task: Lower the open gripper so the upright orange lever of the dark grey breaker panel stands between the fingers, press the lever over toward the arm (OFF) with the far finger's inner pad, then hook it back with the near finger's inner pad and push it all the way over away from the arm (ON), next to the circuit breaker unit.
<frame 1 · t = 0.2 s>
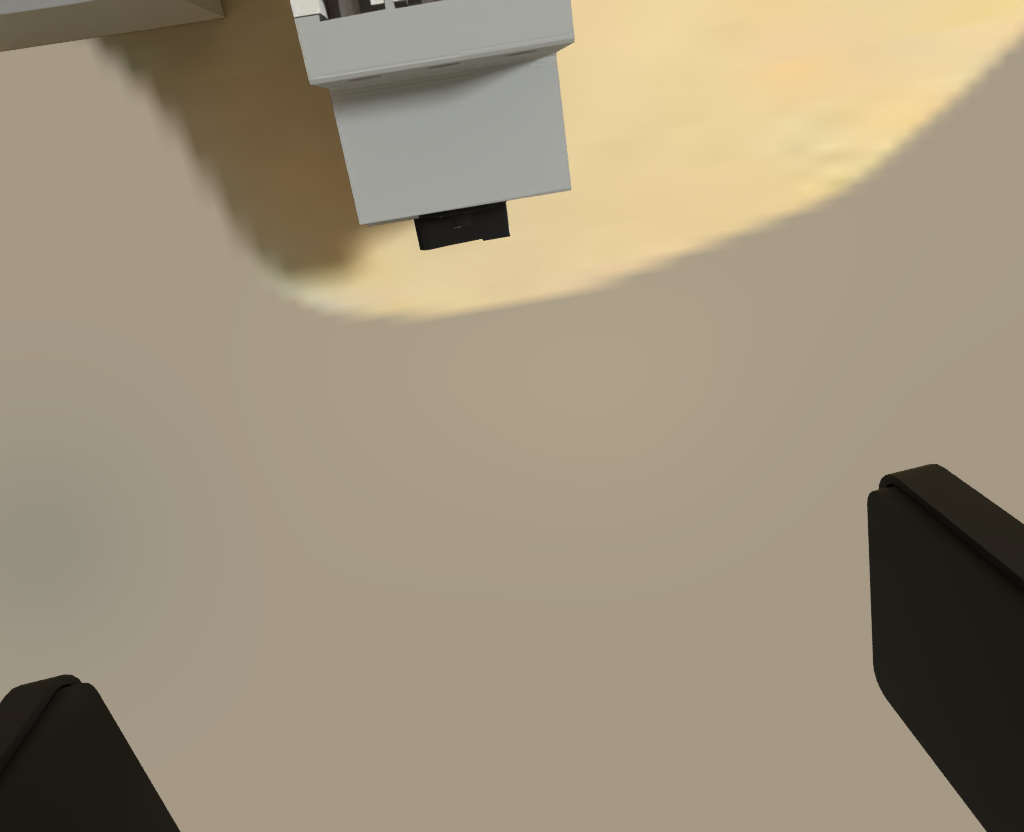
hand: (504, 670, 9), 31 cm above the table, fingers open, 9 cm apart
circuit breaker: (438, 58, 34), on the table
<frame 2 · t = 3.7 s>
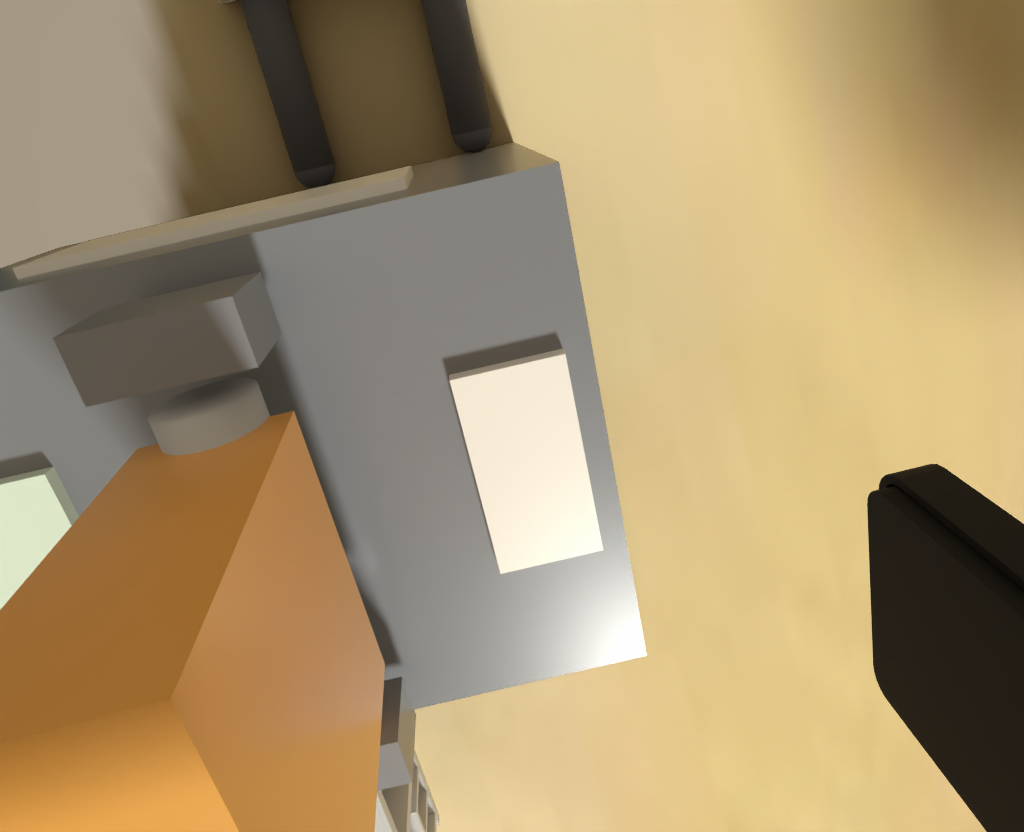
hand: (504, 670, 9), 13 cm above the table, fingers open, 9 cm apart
circuit breaker: (220, 785, 27), on the table
lever: (235, 675, 10), point 12 cm above the table, hinge at -1.8°, touching gripper
panel: (343, 374, 21), on the table
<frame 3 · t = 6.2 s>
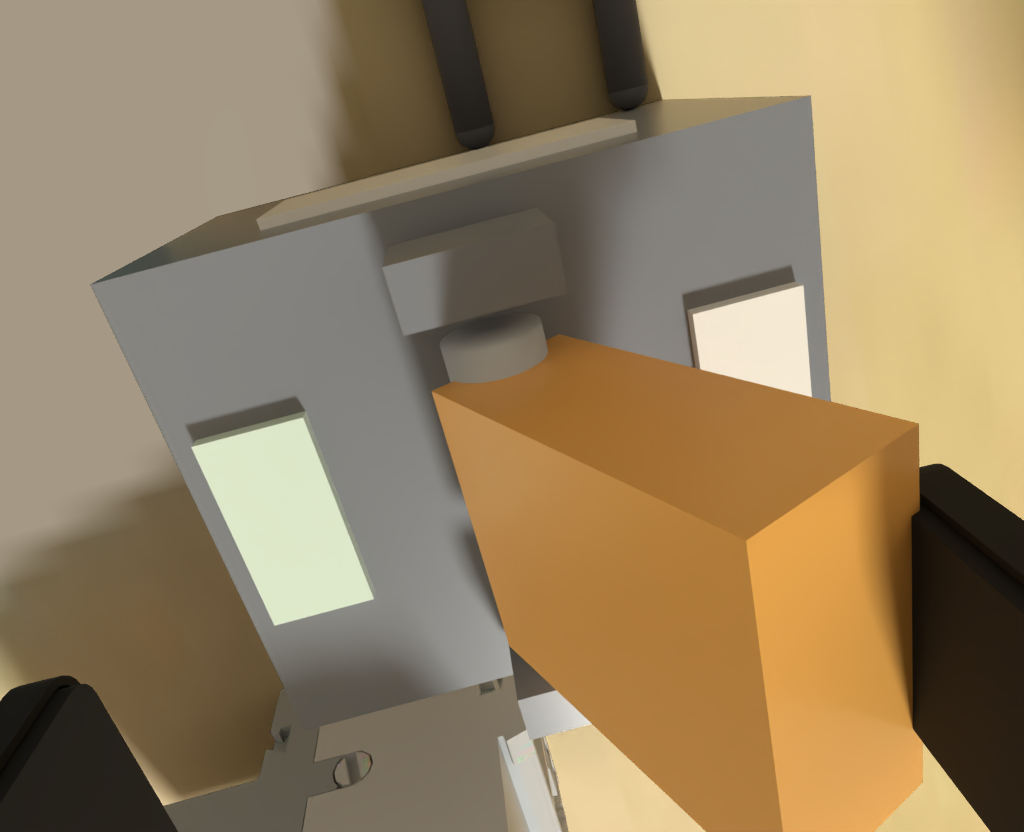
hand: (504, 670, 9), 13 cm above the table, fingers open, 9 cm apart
circuit breaker: (346, 752, 27), on the table
lever: (634, 556, 10), point 12 cm above the table, hinge at -26.0°, touching gripper
panel: (488, 336, 21), on the table
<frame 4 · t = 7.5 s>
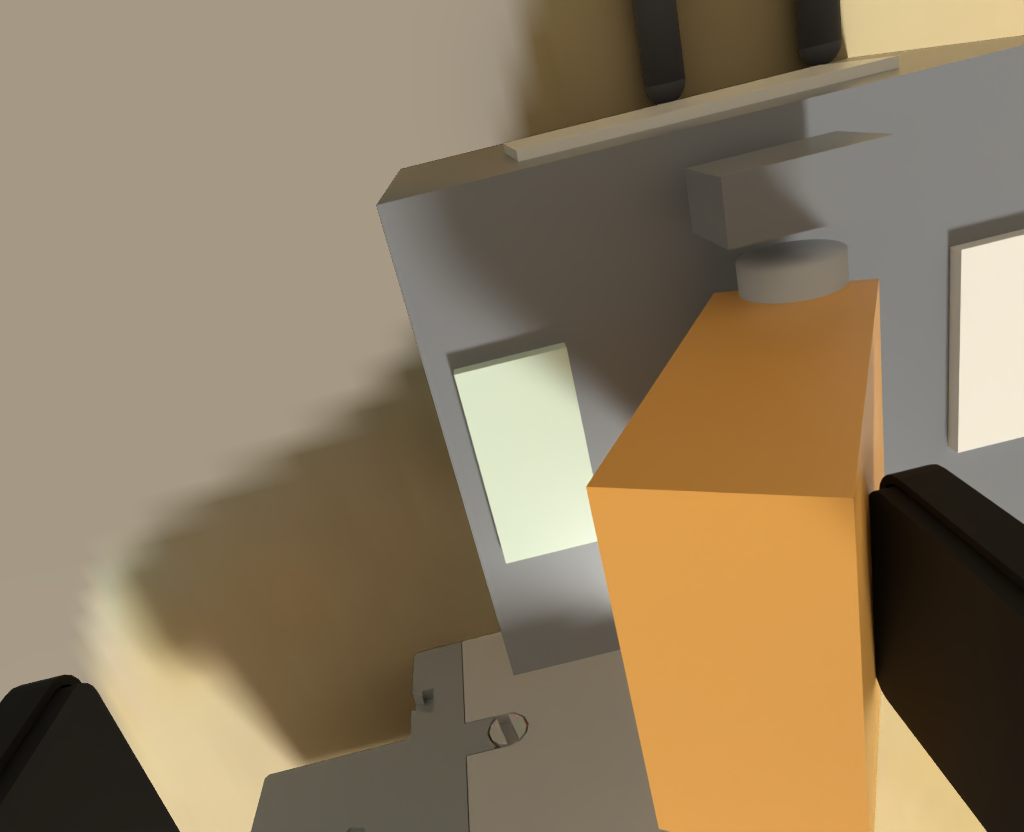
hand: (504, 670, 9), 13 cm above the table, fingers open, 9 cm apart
circuit breaker: (470, 721, 27), on the table
lever: (781, 515, 10), point 12 cm above the table, hinge at 31.2°, touching gripper
panel: (652, 297, 21), on the table
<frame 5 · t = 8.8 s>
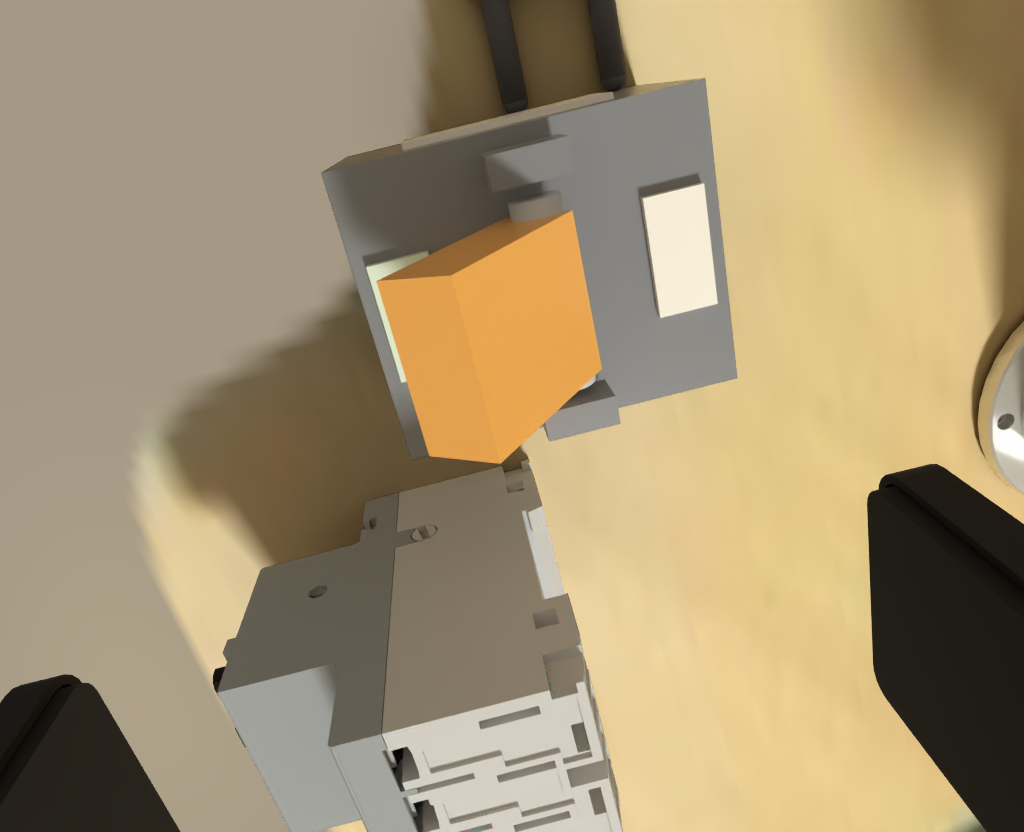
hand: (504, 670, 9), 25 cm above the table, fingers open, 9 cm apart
circuit breaker: (408, 556, 37), on the table
lever: (510, 325, 21), point 12 cm above the table, hinge at 38.6°
panel: (519, 243, 32), on the table
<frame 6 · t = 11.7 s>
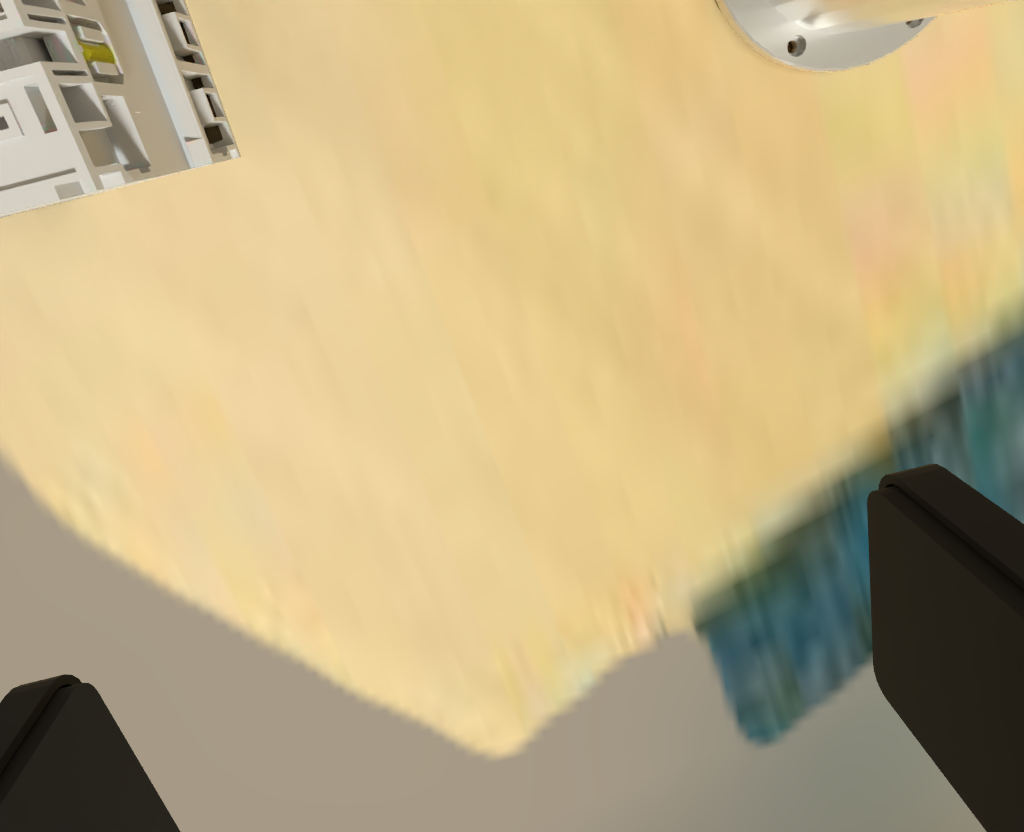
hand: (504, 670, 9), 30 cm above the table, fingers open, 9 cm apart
circuit breaker: (57, 109, 33), on the table
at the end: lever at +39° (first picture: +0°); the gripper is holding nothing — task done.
